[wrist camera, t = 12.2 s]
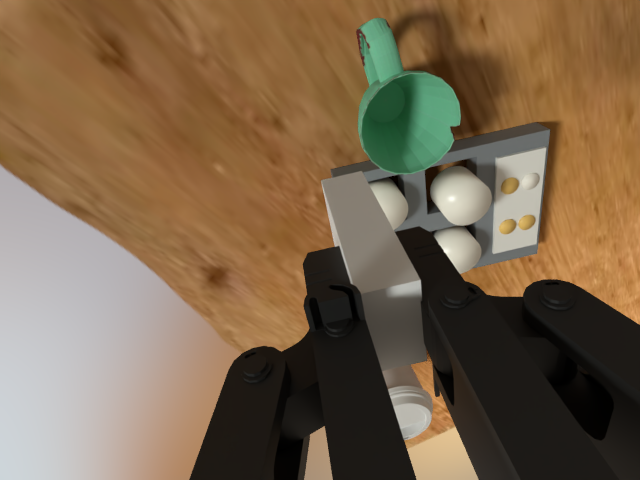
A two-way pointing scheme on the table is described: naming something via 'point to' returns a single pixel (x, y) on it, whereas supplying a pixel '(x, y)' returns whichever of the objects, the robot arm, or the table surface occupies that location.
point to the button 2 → (390, 200)
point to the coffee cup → (408, 400)
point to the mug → (402, 107)
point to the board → (501, 178)
